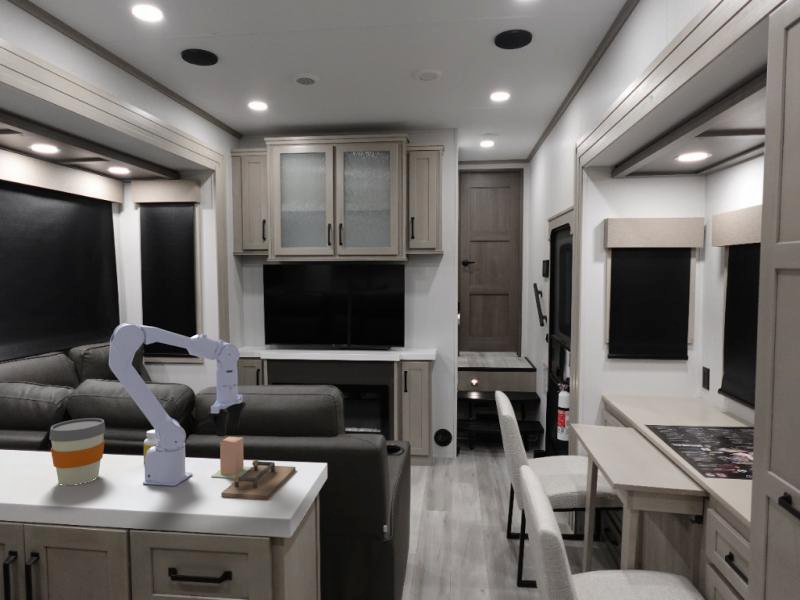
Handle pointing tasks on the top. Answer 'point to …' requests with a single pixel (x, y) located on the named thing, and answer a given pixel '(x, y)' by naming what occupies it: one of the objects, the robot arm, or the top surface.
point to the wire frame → (258, 481)
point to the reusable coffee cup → (77, 449)
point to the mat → (219, 475)
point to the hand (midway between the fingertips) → (228, 431)
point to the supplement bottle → (150, 441)
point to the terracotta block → (231, 455)
